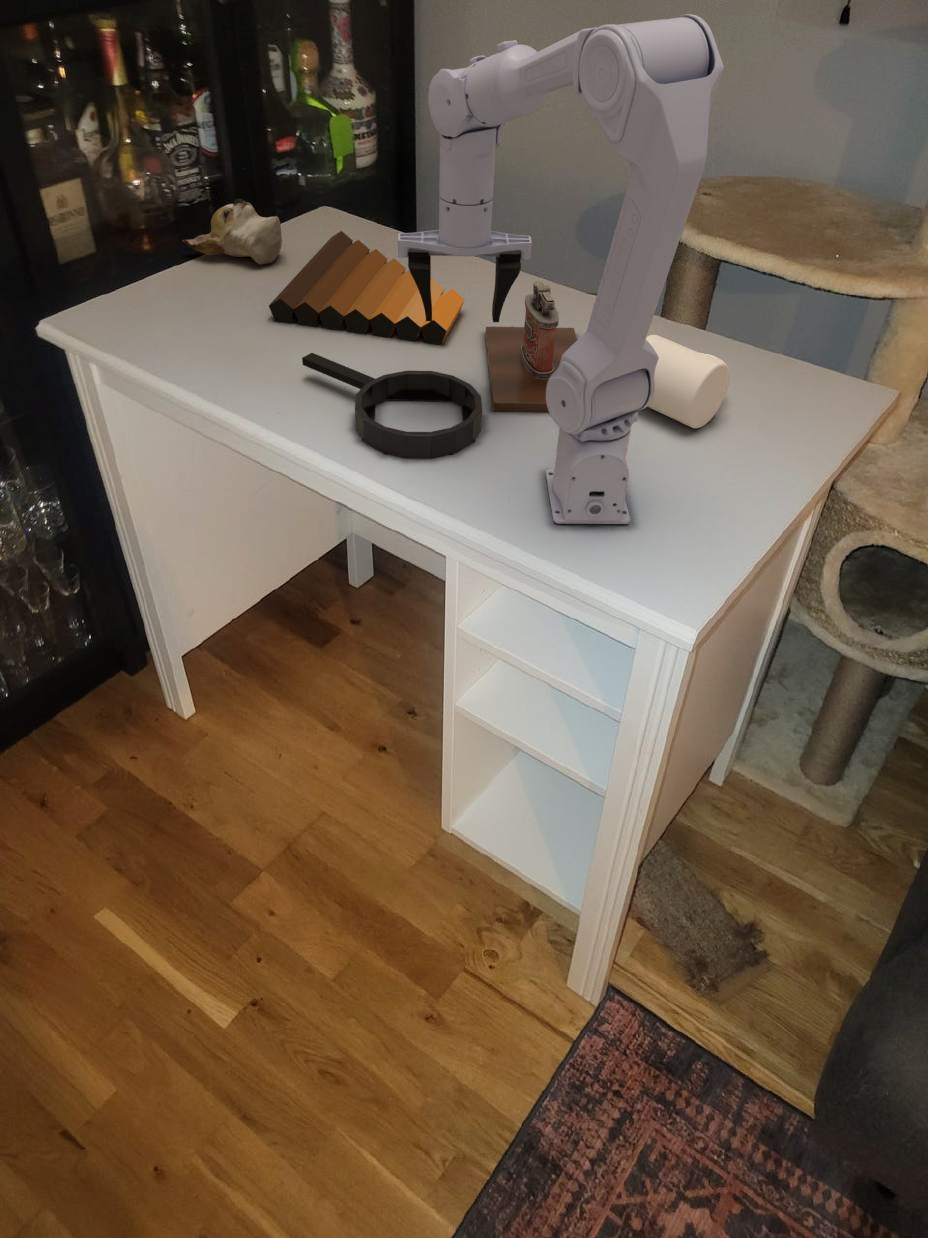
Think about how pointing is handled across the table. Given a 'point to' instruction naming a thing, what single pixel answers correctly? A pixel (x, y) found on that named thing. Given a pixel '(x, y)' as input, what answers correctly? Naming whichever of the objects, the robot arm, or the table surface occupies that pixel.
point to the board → (519, 369)
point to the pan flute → (364, 295)
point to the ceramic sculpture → (241, 234)
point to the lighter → (539, 331)
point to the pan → (407, 389)
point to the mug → (687, 383)
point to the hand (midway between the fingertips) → (462, 317)
